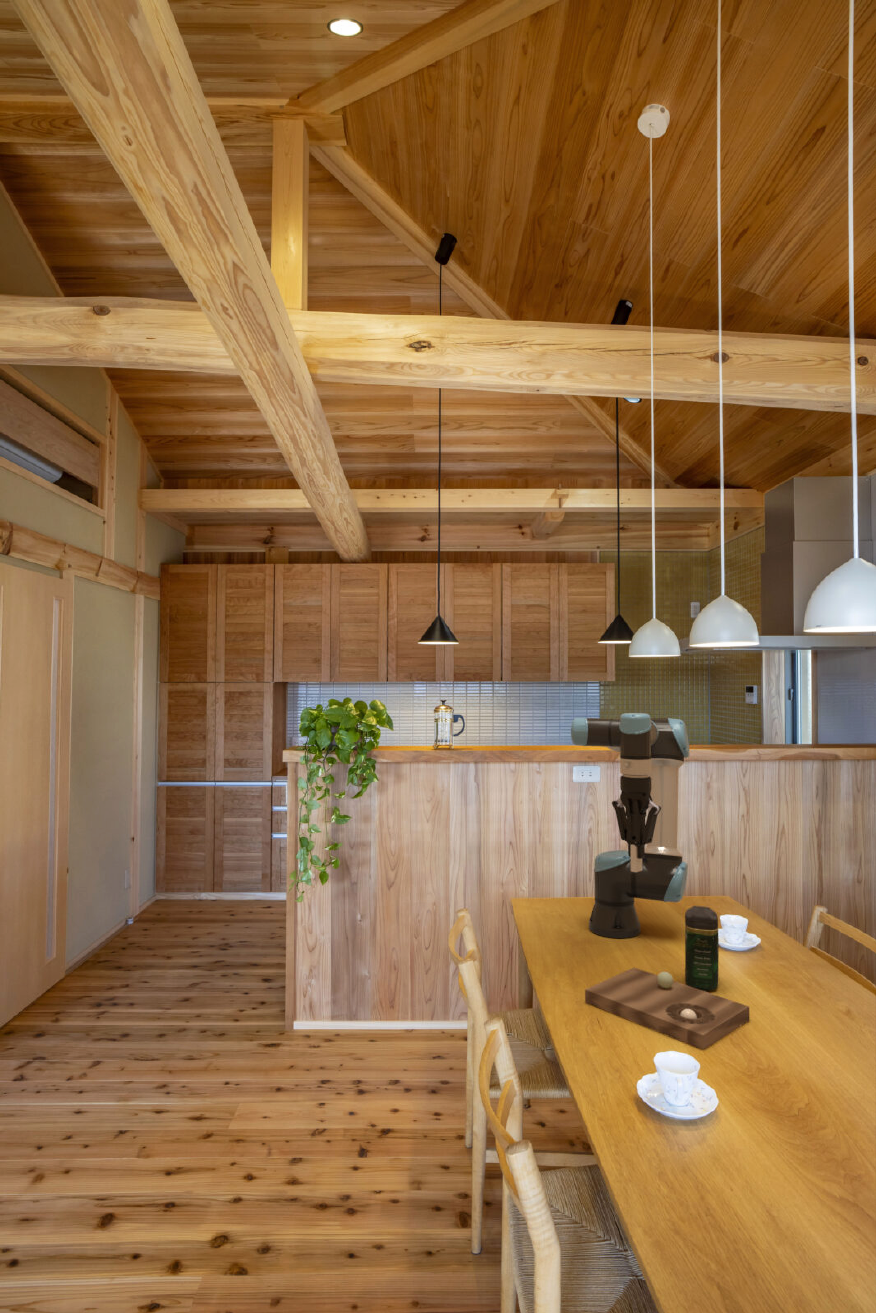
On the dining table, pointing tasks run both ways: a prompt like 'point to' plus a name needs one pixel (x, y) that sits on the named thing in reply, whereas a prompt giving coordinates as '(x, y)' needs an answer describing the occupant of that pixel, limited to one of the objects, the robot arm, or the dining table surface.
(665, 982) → the sage ball
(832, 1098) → the dining table surface
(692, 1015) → the cream ball
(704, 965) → the coffee jar
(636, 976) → the board
